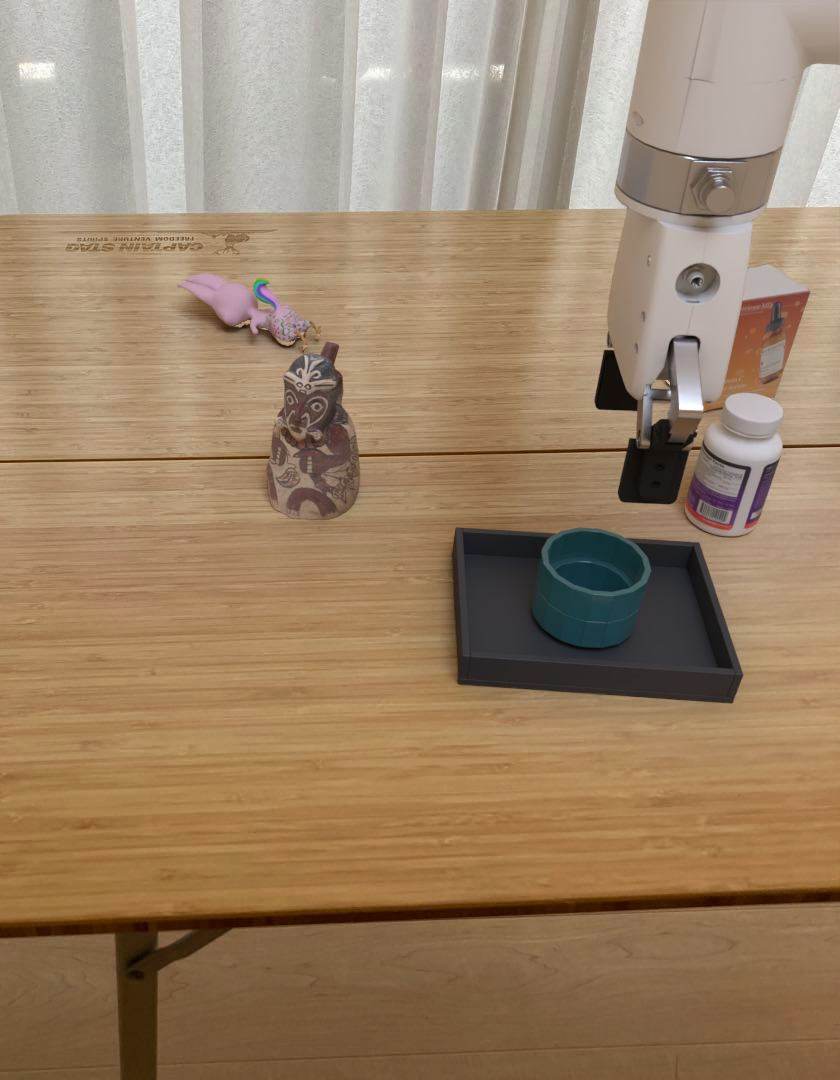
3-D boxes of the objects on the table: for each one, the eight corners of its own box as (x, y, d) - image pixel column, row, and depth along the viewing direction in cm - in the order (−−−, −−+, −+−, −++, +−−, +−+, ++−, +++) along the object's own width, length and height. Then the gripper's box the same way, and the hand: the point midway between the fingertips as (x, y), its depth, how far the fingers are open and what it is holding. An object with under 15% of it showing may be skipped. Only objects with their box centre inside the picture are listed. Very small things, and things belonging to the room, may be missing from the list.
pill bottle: (735, 493, 86) (771, 384, 80) (770, 535, 82) (810, 424, 76) (670, 498, 86) (701, 389, 80) (702, 542, 82) (737, 430, 76)
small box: (699, 414, 96) (731, 302, 89) (662, 382, 100) (690, 273, 93) (776, 400, 98) (813, 289, 91) (737, 369, 102) (770, 261, 95)
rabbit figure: (326, 346, 106) (197, 285, 111) (337, 292, 102) (204, 230, 106) (292, 373, 102) (160, 309, 106) (303, 318, 98) (165, 253, 102)
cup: (625, 587, 77) (640, 530, 73) (641, 657, 71) (659, 598, 68) (526, 581, 77) (537, 524, 74) (535, 649, 72) (547, 591, 68)
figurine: (246, 496, 85) (245, 357, 77) (302, 455, 89) (306, 320, 82) (322, 532, 81) (328, 390, 74) (376, 488, 86) (387, 350, 79)
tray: (691, 569, 79) (699, 542, 78) (733, 703, 69) (743, 675, 67) (451, 554, 80) (455, 526, 78) (458, 684, 70) (462, 655, 68)
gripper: (822, 244, 49) (728, 545, 60) (731, 115, 62) (668, 380, 73) (649, 239, 49) (587, 539, 60) (596, 112, 63) (553, 376, 74)
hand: (631, 451), depth 67 cm, fingers open, 9 cm apart
